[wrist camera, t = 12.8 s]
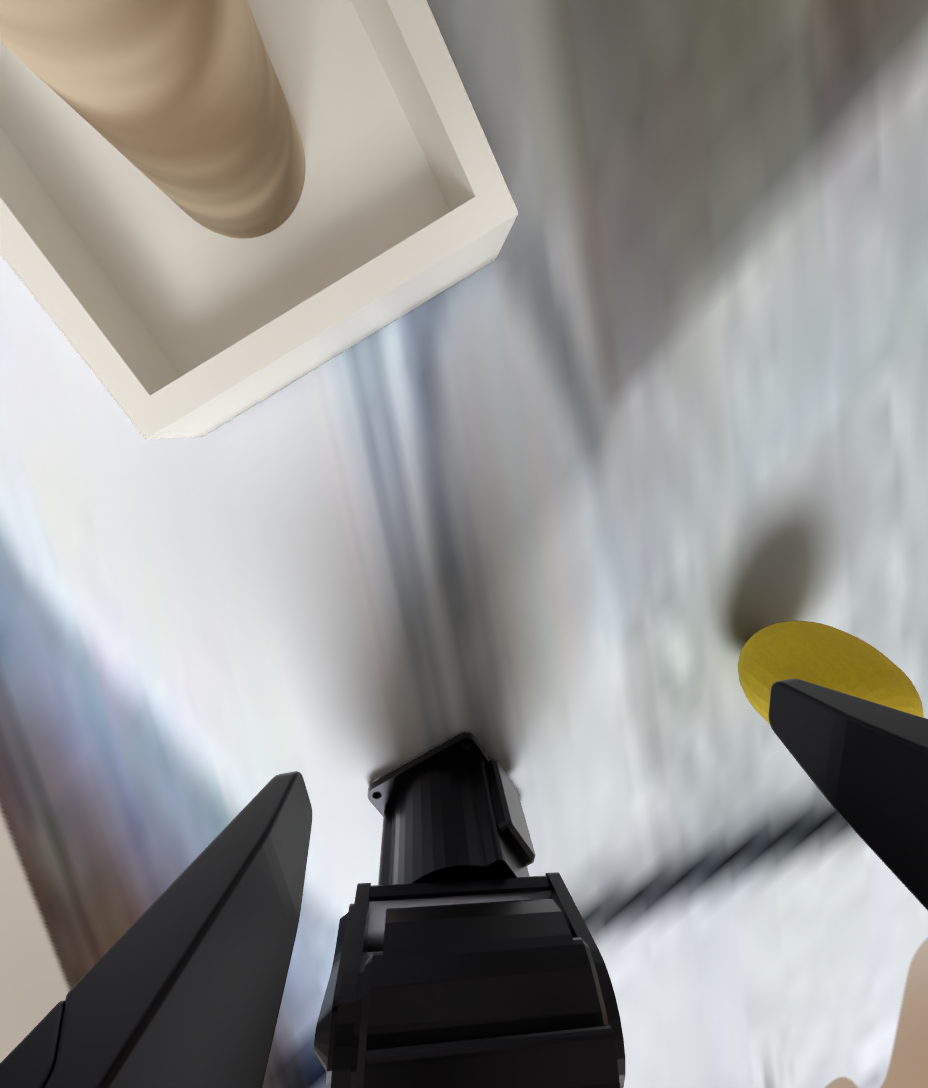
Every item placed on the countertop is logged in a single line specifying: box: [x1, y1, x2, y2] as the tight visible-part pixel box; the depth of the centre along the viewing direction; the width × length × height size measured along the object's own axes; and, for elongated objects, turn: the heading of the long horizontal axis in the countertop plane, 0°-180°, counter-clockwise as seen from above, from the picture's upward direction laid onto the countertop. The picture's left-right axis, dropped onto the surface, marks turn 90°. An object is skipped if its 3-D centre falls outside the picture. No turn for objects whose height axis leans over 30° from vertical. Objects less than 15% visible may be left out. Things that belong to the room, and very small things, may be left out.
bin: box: [0, 0, 518, 439], centre depth 14 cm, size 14×14×4 cm
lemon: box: [738, 621, 924, 724], centre depth 20 cm, size 6×6×8 cm
